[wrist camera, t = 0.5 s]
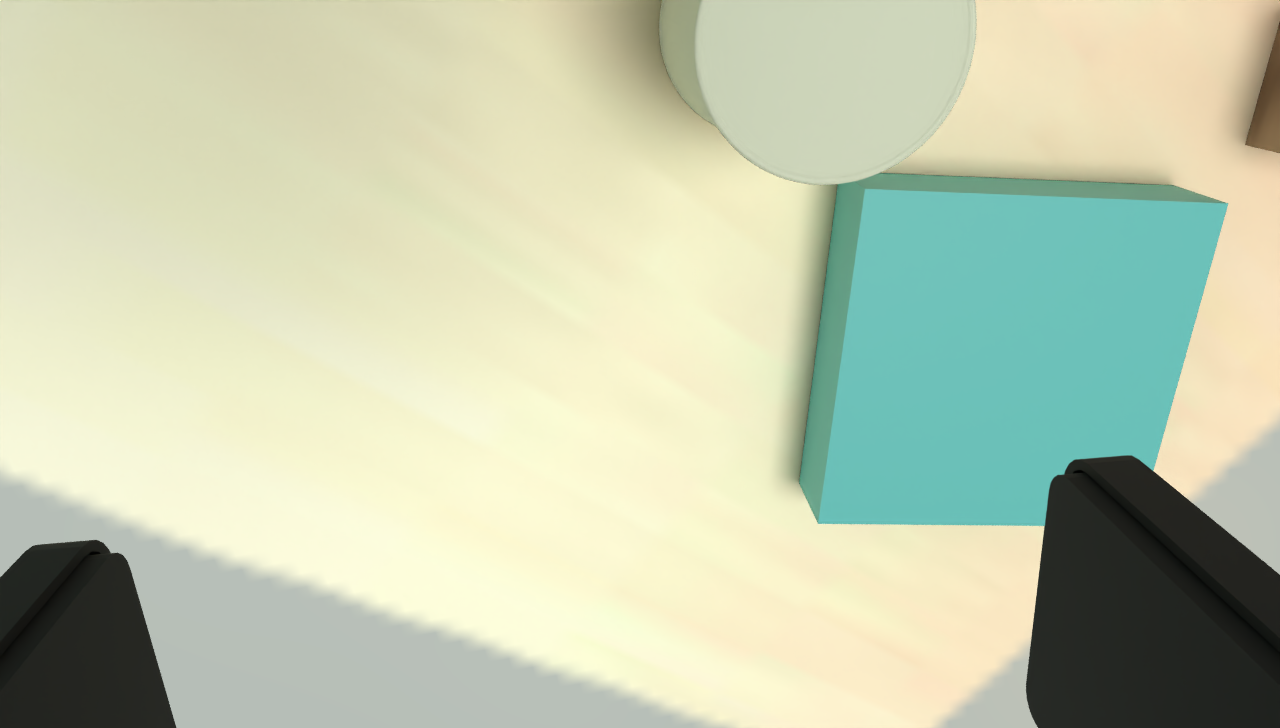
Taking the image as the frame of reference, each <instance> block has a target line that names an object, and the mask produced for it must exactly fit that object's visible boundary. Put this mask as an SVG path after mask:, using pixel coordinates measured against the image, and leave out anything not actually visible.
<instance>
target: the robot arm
mask: <svg viewBox="0 0 1280 728" xmlns="http://www.w3.org/2000/svg"><path fill="white" fill-rule="evenodd" d="M1026 693H1027V701H1028V705H1029V709H1030V712H1031V715H1032V717H1033V719H1034V721H1035V723H1036V725H1037V727H1038V728H1280V575H1279V574H1278V573H1277V572H1276V571H1274V570H1273V569H1272V568H1271V567H1270V566H1268V565H1267V564H1266V563H1265V562H1264V561H1262V560H1261V559H1260V558H1259V557H1257V556H1256V555H1255V554H1254V553H1253V552H1251V551H1250V550H1249V549H1248V548H1246V547H1245V546H1244V545H1243V544H1242V543H1240V542H1239V541H1238V540H1237V539H1235V538H1234V537H1233V536H1232V535H1231V534H1229V533H1228V532H1227V531H1226V530H1225V529H1223V528H1222V527H1221V526H1220V525H1218V524H1217V523H1216V522H1215V521H1214V520H1212V519H1211V518H1210V517H1209V516H1207V515H1206V514H1205V513H1204V512H1203V511H1201V510H1200V509H1199V508H1198V507H1196V506H1195V505H1194V504H1193V503H1192V502H1190V501H1189V500H1188V499H1187V498H1185V497H1184V496H1183V495H1182V494H1181V493H1179V492H1178V491H1177V490H1176V489H1174V488H1173V487H1172V486H1171V485H1170V484H1168V483H1167V482H1166V481H1165V480H1163V479H1162V478H1161V477H1160V476H1159V475H1157V474H1156V473H1155V472H1154V471H1152V470H1151V469H1150V468H1149V467H1148V466H1146V465H1145V464H1144V463H1143V462H1142V461H1140V460H1139V459H1137V458H1135V457H1134V456H1132V455H1124V456H1112V457H1099V458H1087V459H1075V460H1073V461H1072V462H1070V463H1069V465H1068V466H1067V468H1066V470H1065V473H1064V474H1062V475H1057V476H1055V477H1054V478H1053V480H1052V481H1051V483H1050V488H1049V494H1048V502H1047V511H1046V519H1045V528H1044V536H1043V545H1042V553H1041V562H1040V570H1039V579H1038V587H1037V596H1036V605H1035V613H1034V622H1033V630H1032V639H1031V647H1030V656H1029V664H1028V674H1027V681H1026ZM0 728H176V725H175V722H174V719H173V715H172V711H171V708H170V704H169V701H168V698H167V694H166V691H165V687H164V684H163V680H162V677H161V673H160V670H159V667H158V663H157V660H156V656H155V653H154V649H153V646H152V642H151V639H150V635H149V632H148V629H147V625H146V622H145V618H144V615H143V611H142V608H141V604H140V601H139V598H138V594H137V591H136V587H135V584H134V580H133V577H132V573H131V570H130V567H129V565H128V562H127V560H126V559H125V557H124V556H123V555H121V554H119V553H110V551H109V549H108V548H107V547H106V546H105V544H104V543H102V542H100V541H98V540H89V541H77V542H65V543H53V544H42V545H35V546H32V547H31V548H29V549H28V550H27V551H25V552H24V553H23V554H22V555H21V557H20V558H19V559H18V560H17V561H16V562H15V563H14V564H13V565H12V566H11V567H10V568H9V569H8V570H7V571H6V572H5V573H4V574H3V575H2V576H1V577H0Z"/></svg>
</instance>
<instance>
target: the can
mask: <svg viewBox="0 0 1280 728" xmlns="http://www.w3.org/2000/svg"><path fill="white" fill-rule="evenodd" d="M976 21H977V19H976V4H975V0H662V4H661V9H660V19H659V38H660V47H661V52H662V56H663V60H664V63H665V66H666V69H667V72H668V75H669V77H670V79H671V81H672V83H673V85H674V86H675V88H676V90H677V91H678V93H679V94H680V96H681V97H682V98H683V100H684V101H685V102H686V103H687V104H688V105H689V106H690V107H691V108H692V109H693V110H694V111H695V112H696V113H697V114H698V115H700V116H701V117H702V118H703V119H705V120H707V121H708V122H710V123H711V124H713V125H715V126H717V128H718V129H719V131H720V132H721V134H722V135H723V136H724V137H725V138H726V140H727V141H728V142H729V143H730V145H731V146H732V147H733V148H734V149H735V150H736V151H738V152H739V153H740V154H741V155H742V156H743V157H744V158H746V159H747V160H749V161H750V162H751V163H753V164H754V165H756V166H758V167H759V168H761V169H763V170H764V171H766V172H769V173H771V174H773V175H776V176H778V177H781V178H784V179H787V180H790V181H794V182H799V183H805V184H813V185H833V184H842V183H848V182H854V181H858V180H861V179H865V178H868V177H871V176H873V175H876V174H878V173H880V172H883V171H885V170H887V169H889V168H891V167H893V166H894V165H896V164H898V163H899V162H901V161H902V160H904V159H905V158H907V157H908V156H910V155H911V154H912V153H913V152H915V151H916V150H917V149H918V148H919V147H921V146H922V145H923V144H924V143H925V142H926V141H927V140H928V139H929V138H930V137H931V136H932V135H933V134H934V132H935V131H936V130H937V129H938V128H939V126H940V125H941V124H942V123H943V121H944V120H945V118H946V117H947V115H948V114H949V112H950V111H951V109H952V108H953V106H954V104H955V102H956V101H957V99H958V97H959V95H960V93H961V90H962V88H963V86H964V84H965V81H966V78H967V75H968V72H969V69H970V66H971V62H972V57H973V52H974V47H975V40H976Z"/></svg>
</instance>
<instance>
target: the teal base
mask: <svg viewBox="0 0 1280 728" xmlns="http://www.w3.org/2000/svg"><path fill="white" fill-rule="evenodd" d="M1227 206H1228V203H1225V202H1222V201H1219V200H1216V199H1213V198H1210V197H1207V196H1204V195H1201V194H1198V193H1195V192H1192V191H1189V190H1186V189H1183V188H1180V187H1177V186H1174V185H1153V184H1130V183H1106V182H1082V181H1058V180H1034V179H1011V178H987V177H963V176H939V175H916V174H892V173H878V174H876V175H873V176H871V177H868V178H865V179H861V180H858V181H854V182H848V183H842V184H838V187H837V194H836V202H835V210H834V217H833V225H832V233H831V241H830V248H829V256H828V264H827V271H826V279H825V287H824V295H823V302H822V310H821V318H820V325H819V333H818V341H817V349H816V356H815V364H814V372H813V379H812V387H811V395H810V403H809V410H808V418H807V426H806V433H805V441H804V449H803V457H802V464H801V472H800V480H799V484H800V486H801V488H802V490H803V493H804V495H805V497H806V499H807V501H808V503H809V505H810V507H811V510H812V512H813V514H814V516H815V518H816V520H817V522H818V524H908V525H1017V526H1045V519H1046V511H1047V502H1048V494H1049V488H1050V483H1051V481H1052V480H1053V478H1054V477H1055V476H1057V475H1062V474H1064V473H1065V470H1066V468H1067V466H1068V465H1069V463H1070V462H1072V461H1073V460H1075V459H1087V458H1099V457H1112V456H1124V455H1132V456H1134V457H1135V458H1137V459H1139V460H1140V461H1142V462H1143V463H1144V464H1145V465H1146V466H1148V467H1149V468H1150V469H1151V470H1152V471H1153V470H1154V466H1155V463H1156V459H1157V456H1158V452H1159V449H1160V445H1161V441H1162V438H1163V434H1164V431H1165V427H1166V424H1167V420H1168V416H1169V413H1170V409H1171V406H1172V402H1173V399H1174V395H1175V391H1176V388H1177V384H1178V381H1179V377H1180V374H1181V370H1182V367H1183V363H1184V359H1185V356H1186V352H1187V349H1188V345H1189V342H1190V338H1191V334H1192V331H1193V327H1194V324H1195V320H1196V317H1197V313H1198V309H1199V306H1200V302H1201V299H1202V295H1203V292H1204V288H1205V285H1206V281H1207V277H1208V274H1209V270H1210V267H1211V263H1212V260H1213V256H1214V252H1215V249H1216V245H1217V242H1218V238H1219V235H1220V231H1221V227H1222V224H1223V220H1224V217H1225V213H1226V210H1227Z"/></svg>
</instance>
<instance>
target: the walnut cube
mask: <svg viewBox="0 0 1280 728" xmlns="http://www.w3.org/2000/svg"><path fill="white" fill-rule="evenodd" d="M1245 145H1248V146H1252V147H1257V148H1261V149H1265V150H1269V151H1273V152H1277V153H1280V22H1279V26H1278V30H1277V33H1276V37H1275V40H1274V44H1273V47H1272V51H1271V55H1270V58H1269V62H1268V65H1267V69H1266V72H1265V76H1264V80H1263V83H1262V87H1261V90H1260V94H1259V97H1258V101H1257V105H1256V108H1255V112H1254V115H1253V119H1252V122H1251V126H1250V129H1249V133H1248V137H1247V140H1246V144H1245Z"/></svg>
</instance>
